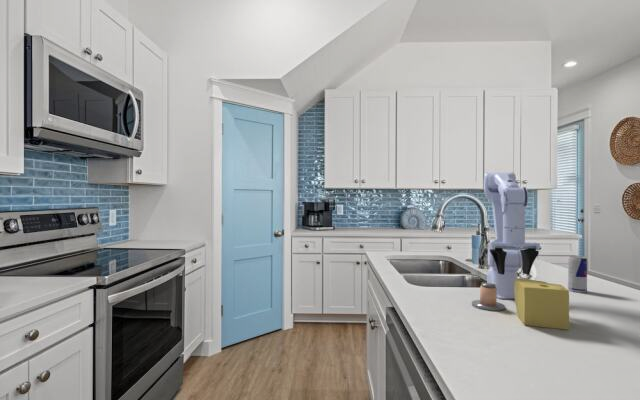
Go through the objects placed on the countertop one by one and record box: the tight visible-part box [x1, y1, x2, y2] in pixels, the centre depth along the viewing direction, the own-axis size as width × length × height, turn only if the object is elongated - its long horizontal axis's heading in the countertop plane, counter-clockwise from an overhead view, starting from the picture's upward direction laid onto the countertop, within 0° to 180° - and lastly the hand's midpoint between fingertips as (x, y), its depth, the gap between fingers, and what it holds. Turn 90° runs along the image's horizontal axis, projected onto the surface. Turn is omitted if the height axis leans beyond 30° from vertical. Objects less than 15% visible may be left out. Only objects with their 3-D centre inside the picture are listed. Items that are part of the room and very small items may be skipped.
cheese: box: [514, 278, 570, 330], centre depth 92 cm, size 10×11×10 cm
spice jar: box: [479, 282, 498, 307], centre depth 105 cm, size 4×4×6 cm
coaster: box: [471, 299, 506, 312], centre depth 105 cm, size 9×9×1 cm
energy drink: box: [567, 255, 588, 294], centre depth 124 cm, size 5×5×12 cm
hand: (513, 274), depth 104 cm, fingers open, 7 cm apart
